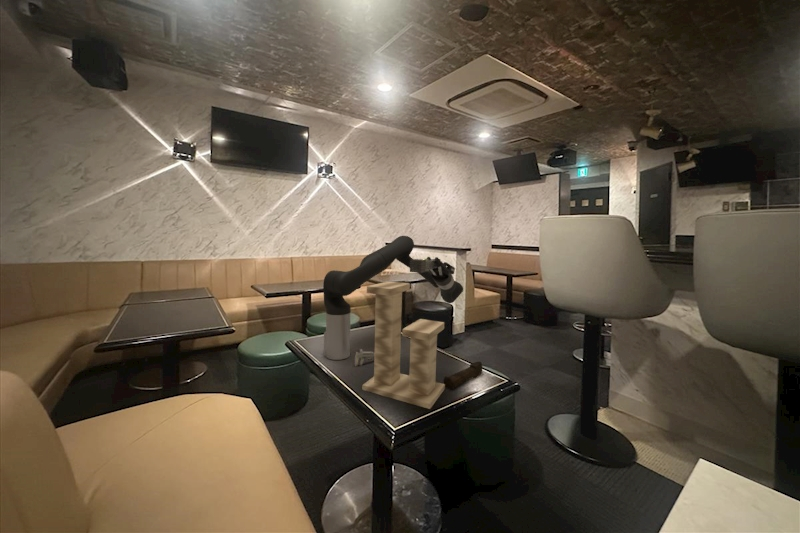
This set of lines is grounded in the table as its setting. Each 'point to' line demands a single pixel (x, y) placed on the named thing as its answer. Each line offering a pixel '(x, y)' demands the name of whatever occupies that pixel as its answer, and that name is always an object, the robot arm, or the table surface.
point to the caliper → (363, 356)
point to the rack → (388, 344)
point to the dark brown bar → (463, 375)
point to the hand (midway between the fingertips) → (431, 259)
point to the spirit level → (422, 265)
